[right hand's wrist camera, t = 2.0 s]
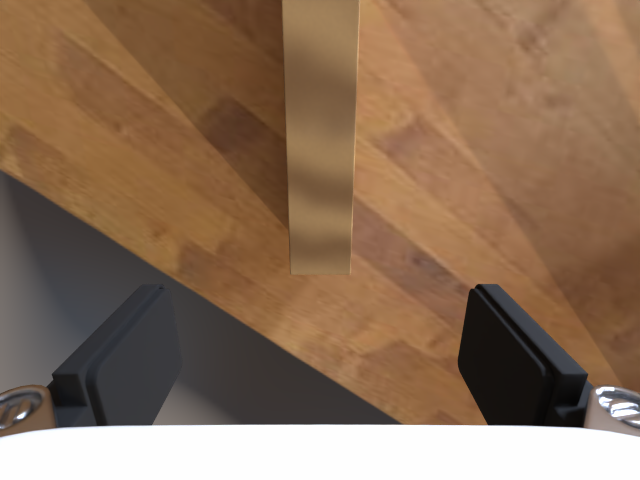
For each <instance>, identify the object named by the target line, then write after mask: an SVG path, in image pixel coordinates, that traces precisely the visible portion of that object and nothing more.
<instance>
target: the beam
mask: <svg viewBox="0 0 640 480" xmlns="http://www.w3.org/2000/svg"><path fill="white" fill-rule="evenodd" d="M359 18H360V0H282V30H283V61H284V92H285V124H286V155H287V187H288V218H289V250H290V274H291V275H350V274H351V249H352V220H353V191H354V162H355V133H356V105H357V76H358V47H359Z"/></svg>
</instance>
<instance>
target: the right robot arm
mask: <svg viewBox="0 0 640 480" xmlns="http://www.w3.org/2000/svg"><path fill="white" fill-rule="evenodd" d="M181 367H182V356H181V350H180V344H179V338H178V332H177V326H176V320H175V314H174V308H173V302H172V296H171V292H170V290H169V289H165V287H164V285H163V284H143V285H141V286H140V287H139V288H138V289H137V290H136V291H135V292H134V293H133V294H132V295H131V296H130V297H129V298H128V299H127V300H126V301H125V302H124V303H123V304H122V305H121V306H120V307H119V308H118V309H117V310H116V311H115V312H114V313H113V314H112V315H111V316H110V317H109V318H108V319H107V320H106V321H105V322H104V323H103V324H102V325H101V326H100V327H99V328H98V329H97V330H96V331H95V332H94V333H93V334H92V335H91V336H90V337H89V338H88V339H87V340H86V341H85V342H84V343H83V344H82V345H81V346H80V347H79V348H78V349H77V350H76V351H75V352H74V353H73V354H72V355H71V356H70V357H69V358H68V359H67V360H66V361H65V362H64V363H63V364H62V365H61V366H60V367H59V368H58V369H56V371H54V372H53V373H52V376H53V379H54V380H53V381H52V382H51V383H50V384H49V385H48V386H47V387H44V386H42V385H26V386H20V387H17V388H14V389H10V390H8V391H5V392H3V393H1V394H0V480H640V394H639V393H637V392H635V391H632V390H630V389H626V388H623V387H620V386H614V385H598V386H596V387H593V386H592V385H591V384H590V383H589V382H588V381H587V380H586V379H587V376H588V373H587V372H586V371H585V370H584V369H582V368H581V367H580V366H579V365H578V364H577V363H576V362H575V361H574V360H573V359H572V358H571V357H570V356H569V355H568V354H567V353H566V352H565V351H564V350H563V349H562V348H561V347H560V346H559V345H558V344H557V343H556V342H555V341H554V340H553V339H552V338H551V337H550V336H549V335H548V334H547V333H546V332H545V331H544V330H543V329H542V328H541V327H540V326H539V325H538V324H537V323H536V322H535V321H534V320H533V319H532V318H531V317H530V316H529V315H528V314H527V313H526V312H525V311H524V310H523V309H522V308H521V307H520V306H519V305H518V304H517V303H516V302H515V301H514V300H513V299H512V298H511V297H510V296H509V295H508V294H507V293H506V292H505V291H504V290H503V289H502V288H501V287H500V286H499V285H497V284H477V285H476V287H475V289H471V290H470V291H469V296H468V302H467V308H466V314H465V320H464V326H463V332H462V338H461V344H460V350H459V356H458V367H459V371H460V373H461V375H462V377H463V379H464V381H465V382H466V384H467V386H468V388H469V390H470V392H471V394H472V396H473V398H474V399H475V401H476V403H477V405H478V407H479V409H480V411H481V413H482V415H483V416H484V418H485V420H486V422H487V424H488V425H157V426H156V425H153V426H152V424H153V422H154V420H155V418H156V416H157V414H158V413H159V411H160V409H161V407H162V405H163V403H164V401H165V399H166V398H167V396H168V394H169V392H170V390H171V388H172V386H173V384H174V382H175V380H176V379H177V377H178V375H179V373H180V371H181Z"/></svg>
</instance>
